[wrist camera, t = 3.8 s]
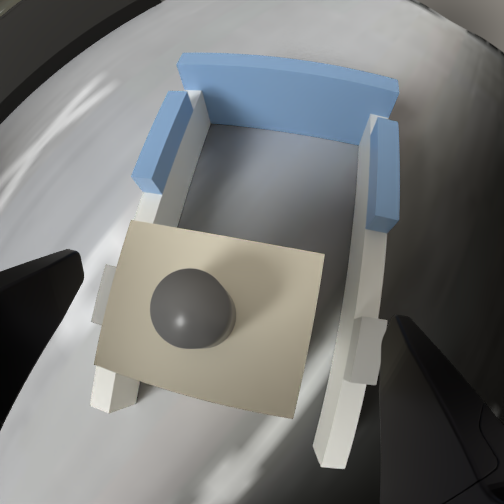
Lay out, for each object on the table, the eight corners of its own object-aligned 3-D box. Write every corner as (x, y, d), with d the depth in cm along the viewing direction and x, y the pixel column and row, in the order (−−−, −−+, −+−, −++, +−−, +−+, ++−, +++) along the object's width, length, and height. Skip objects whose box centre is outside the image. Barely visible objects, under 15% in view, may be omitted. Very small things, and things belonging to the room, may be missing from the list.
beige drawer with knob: (281, 376, 14) (297, 434, 5) (190, 356, 15) (64, 365, 5) (296, 305, 15) (334, 235, 6) (205, 287, 16) (108, 198, 6)
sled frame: (332, 448, 13) (356, 487, 8) (119, 397, 15) (64, 411, 10) (375, 136, 18) (397, 79, 13) (200, 110, 19) (182, 52, 14)
